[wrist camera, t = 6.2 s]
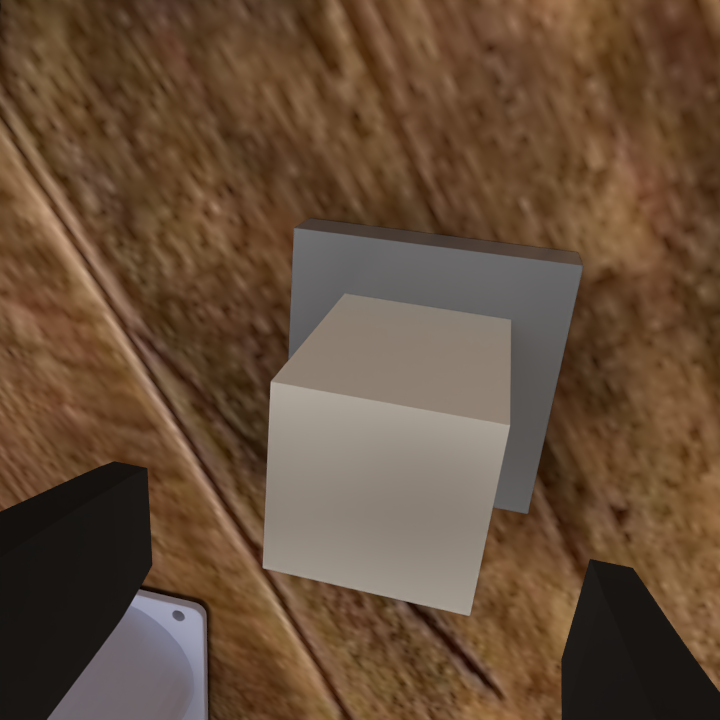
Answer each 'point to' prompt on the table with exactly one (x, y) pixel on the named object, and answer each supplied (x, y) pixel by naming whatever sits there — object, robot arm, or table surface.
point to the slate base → (458, 293)
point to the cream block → (389, 450)
